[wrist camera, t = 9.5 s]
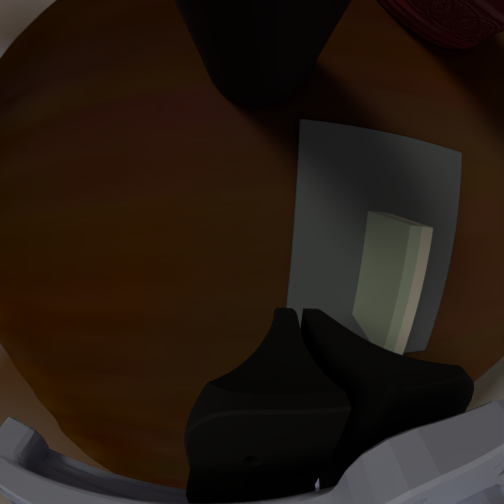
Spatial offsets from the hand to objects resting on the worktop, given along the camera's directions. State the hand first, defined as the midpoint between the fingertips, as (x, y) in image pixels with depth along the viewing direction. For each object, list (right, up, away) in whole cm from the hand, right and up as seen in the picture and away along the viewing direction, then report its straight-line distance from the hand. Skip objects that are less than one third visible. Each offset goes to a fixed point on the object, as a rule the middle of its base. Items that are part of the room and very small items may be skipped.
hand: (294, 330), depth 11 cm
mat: (+8, +3, +9) cm, 12 cm away
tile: (+7, +2, +9) cm, 11 cm away
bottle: (-1, +16, +6) cm, 17 cm away
